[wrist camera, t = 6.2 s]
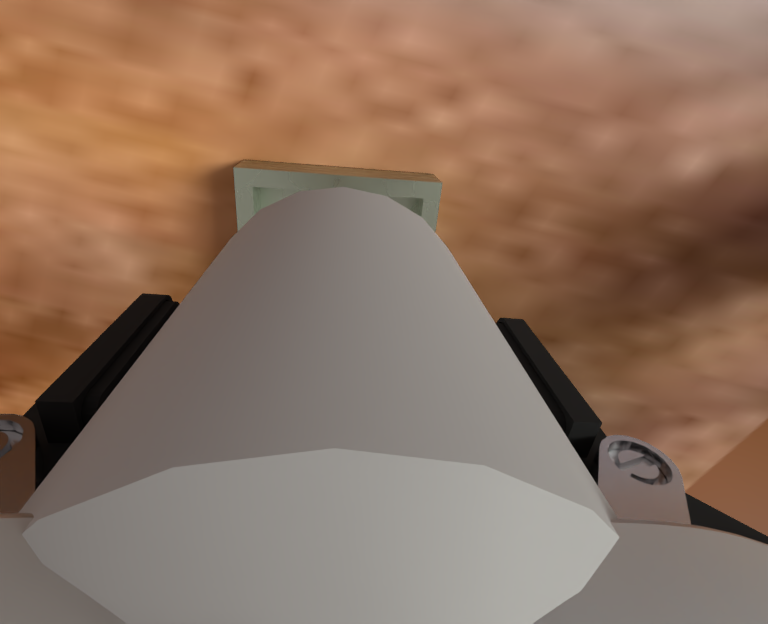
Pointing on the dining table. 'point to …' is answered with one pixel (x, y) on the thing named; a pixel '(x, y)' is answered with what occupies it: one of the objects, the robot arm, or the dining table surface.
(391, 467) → the can
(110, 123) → the dining table surface
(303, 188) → the frame
